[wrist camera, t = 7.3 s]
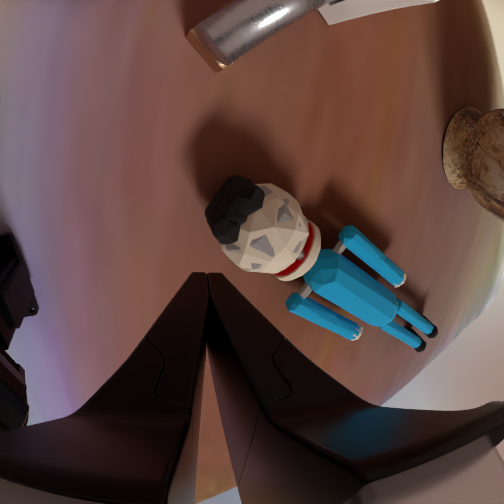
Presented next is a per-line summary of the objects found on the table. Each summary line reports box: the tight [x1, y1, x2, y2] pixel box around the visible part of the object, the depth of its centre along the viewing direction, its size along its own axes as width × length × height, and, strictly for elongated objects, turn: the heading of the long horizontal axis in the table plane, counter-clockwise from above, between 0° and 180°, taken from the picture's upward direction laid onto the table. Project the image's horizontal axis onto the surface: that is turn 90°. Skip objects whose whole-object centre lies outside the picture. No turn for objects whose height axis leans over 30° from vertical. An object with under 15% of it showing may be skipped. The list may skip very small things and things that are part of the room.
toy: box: [205, 175, 438, 352], centre depth 26 cm, size 8×6×30 cm
